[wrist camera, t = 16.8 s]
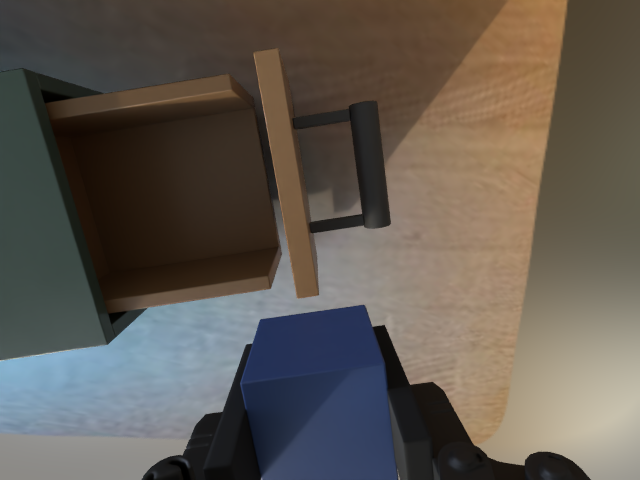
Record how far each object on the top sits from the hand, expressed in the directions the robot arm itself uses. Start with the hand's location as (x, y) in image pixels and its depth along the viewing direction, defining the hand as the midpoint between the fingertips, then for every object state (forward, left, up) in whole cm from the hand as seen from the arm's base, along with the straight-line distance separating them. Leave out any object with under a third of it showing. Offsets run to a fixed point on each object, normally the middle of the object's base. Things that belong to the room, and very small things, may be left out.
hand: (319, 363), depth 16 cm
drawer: (+8, +5, -12) cm, 15 cm away
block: (0, 0, 0) cm, 0 cm away
